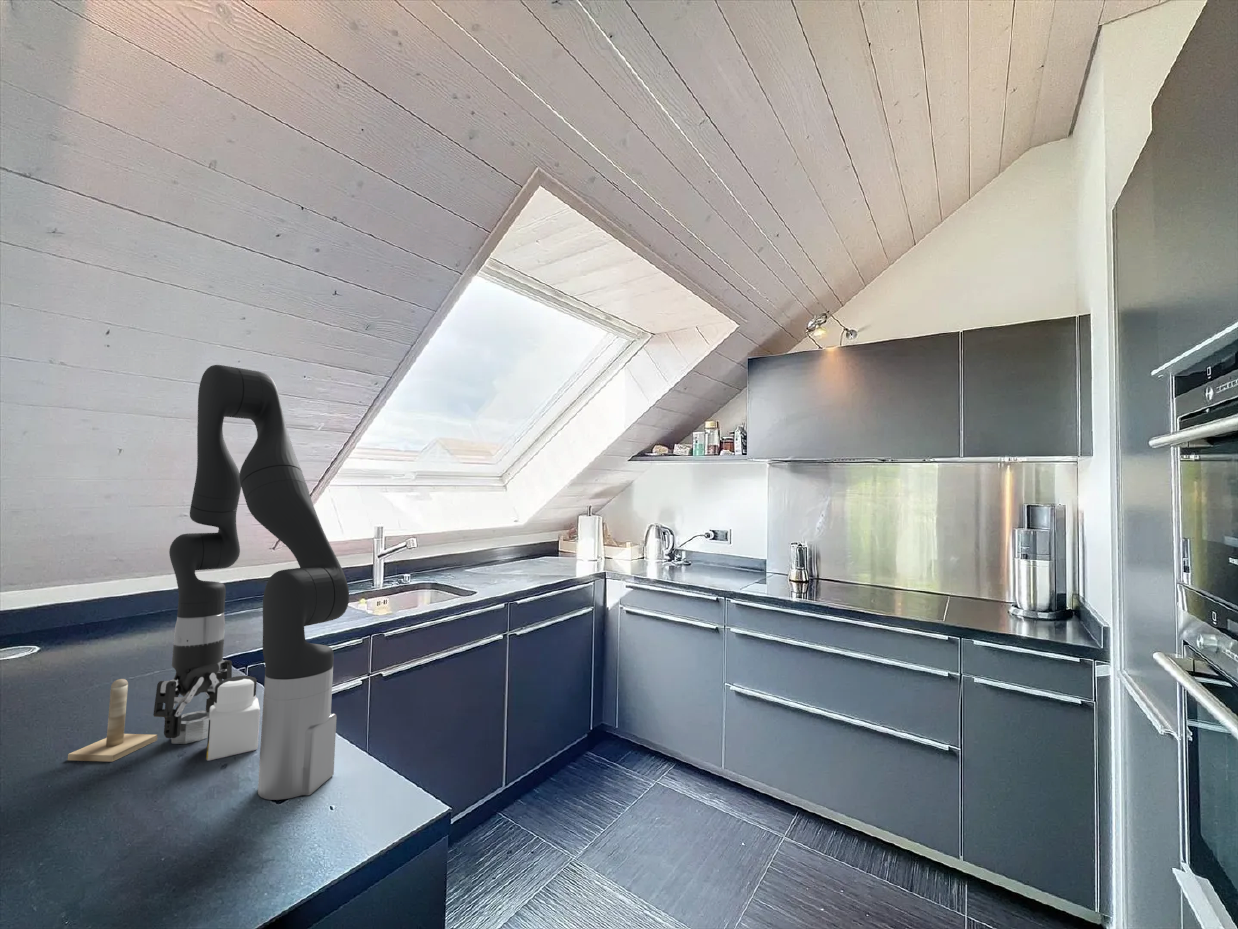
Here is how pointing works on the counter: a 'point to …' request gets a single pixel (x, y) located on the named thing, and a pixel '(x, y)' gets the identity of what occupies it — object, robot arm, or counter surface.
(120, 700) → the post stand
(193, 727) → the ring
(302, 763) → the robot arm
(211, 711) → the medicine bottle
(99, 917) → the counter surface
